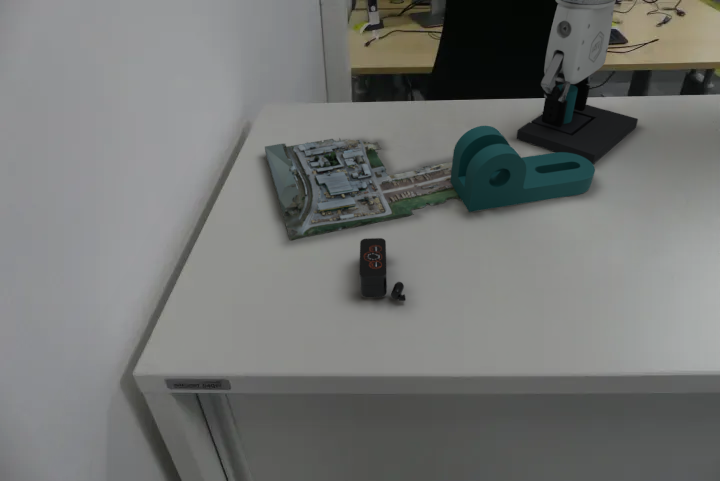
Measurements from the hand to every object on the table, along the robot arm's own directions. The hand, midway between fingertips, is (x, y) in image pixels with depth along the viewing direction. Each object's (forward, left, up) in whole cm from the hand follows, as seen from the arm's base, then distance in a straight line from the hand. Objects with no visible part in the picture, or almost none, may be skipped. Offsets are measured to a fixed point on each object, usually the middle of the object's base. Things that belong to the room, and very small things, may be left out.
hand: (563, 115), depth 84 cm
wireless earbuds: (+44, +3, -2) cm, 44 cm away
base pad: (0, +3, -2) cm, 3 cm away
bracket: (+18, +5, -2) cm, 19 cm away
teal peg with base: (0, 0, -2) cm, 2 cm away
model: (+27, -12, -2) cm, 30 cm away
